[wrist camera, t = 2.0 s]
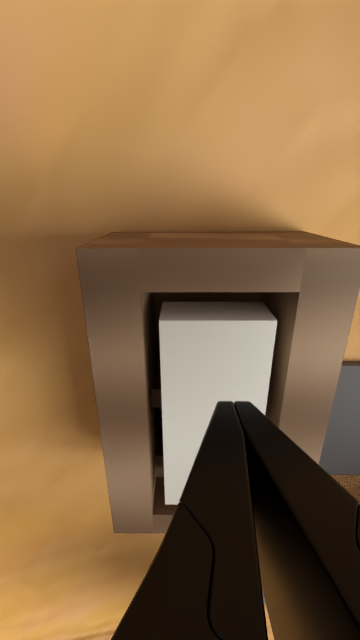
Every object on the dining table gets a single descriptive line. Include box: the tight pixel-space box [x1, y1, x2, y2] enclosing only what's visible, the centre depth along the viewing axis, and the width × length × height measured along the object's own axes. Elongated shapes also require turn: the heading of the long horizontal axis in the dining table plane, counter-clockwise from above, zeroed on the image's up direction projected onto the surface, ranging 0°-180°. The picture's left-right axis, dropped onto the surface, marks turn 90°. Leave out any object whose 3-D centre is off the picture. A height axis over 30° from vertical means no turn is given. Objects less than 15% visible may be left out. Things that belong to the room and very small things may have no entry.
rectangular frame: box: [76, 232, 360, 533], centre depth 14 cm, size 13×9×5 cm
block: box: [159, 302, 277, 505], centre depth 13 cm, size 9×4×2 cm, turn 0°
